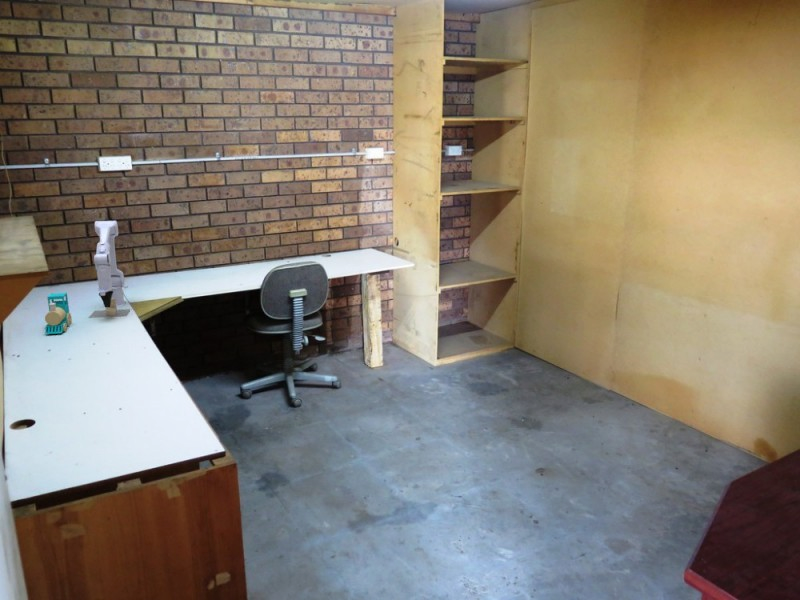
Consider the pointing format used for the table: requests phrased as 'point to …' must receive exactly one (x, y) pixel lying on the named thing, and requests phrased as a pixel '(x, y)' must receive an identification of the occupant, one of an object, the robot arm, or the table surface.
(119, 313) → the slate mat
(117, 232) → the robot arm
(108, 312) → the maple block
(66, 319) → the toy train
